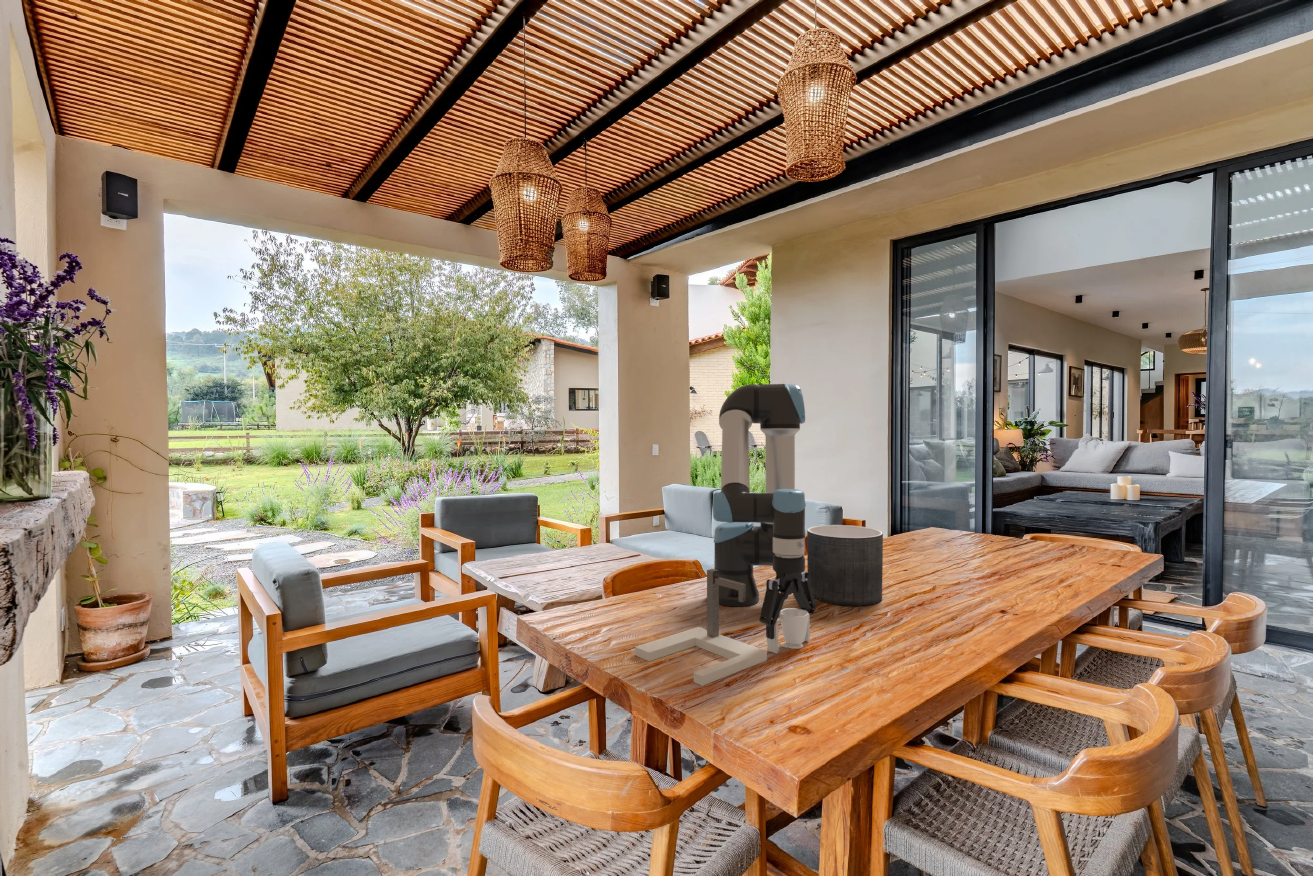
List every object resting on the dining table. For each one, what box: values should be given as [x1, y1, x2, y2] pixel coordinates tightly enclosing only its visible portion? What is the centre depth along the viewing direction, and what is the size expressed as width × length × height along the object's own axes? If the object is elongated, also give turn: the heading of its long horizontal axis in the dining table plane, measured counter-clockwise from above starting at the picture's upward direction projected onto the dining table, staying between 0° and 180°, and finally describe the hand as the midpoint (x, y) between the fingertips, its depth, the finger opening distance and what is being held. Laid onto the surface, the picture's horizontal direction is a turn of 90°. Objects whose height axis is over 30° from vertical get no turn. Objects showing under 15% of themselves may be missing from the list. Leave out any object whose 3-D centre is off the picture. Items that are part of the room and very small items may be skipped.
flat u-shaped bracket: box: [634, 626, 768, 687], centre depth 140 cm, size 22×20×2 cm
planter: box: [806, 524, 884, 607], centre depth 189 cm, size 22×22×20 cm
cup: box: [776, 607, 809, 650], centre depth 147 cm, size 7×10×8 cm
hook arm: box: [706, 568, 746, 638], centre depth 145 cm, size 11×2×16 cm, turn 40°
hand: (788, 645), depth 147 cm, fingers open, 11 cm apart
